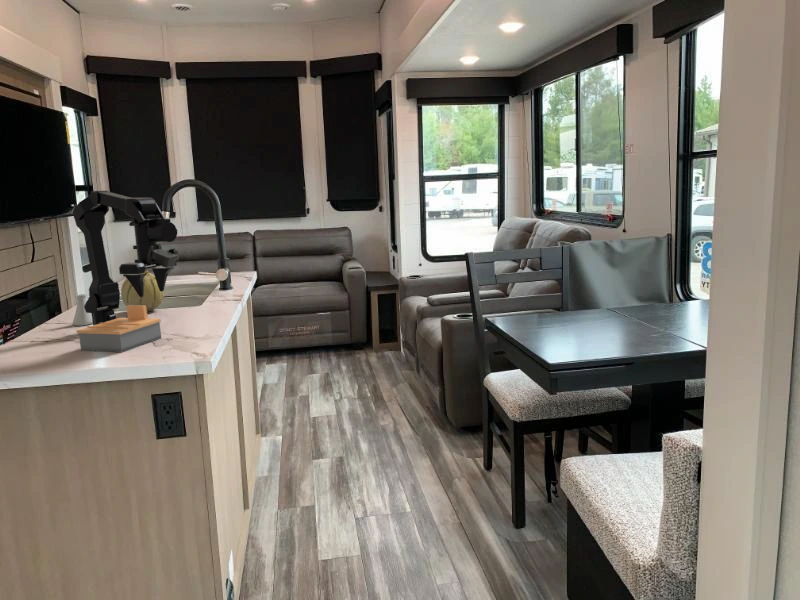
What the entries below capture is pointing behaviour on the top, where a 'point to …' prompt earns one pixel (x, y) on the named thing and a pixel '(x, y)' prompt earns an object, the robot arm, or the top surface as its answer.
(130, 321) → the lid
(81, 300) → the flask
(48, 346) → the top surface
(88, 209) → the robot arm
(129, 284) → the cantaloupe
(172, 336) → the top surface
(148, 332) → the tub
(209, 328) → the top surface
